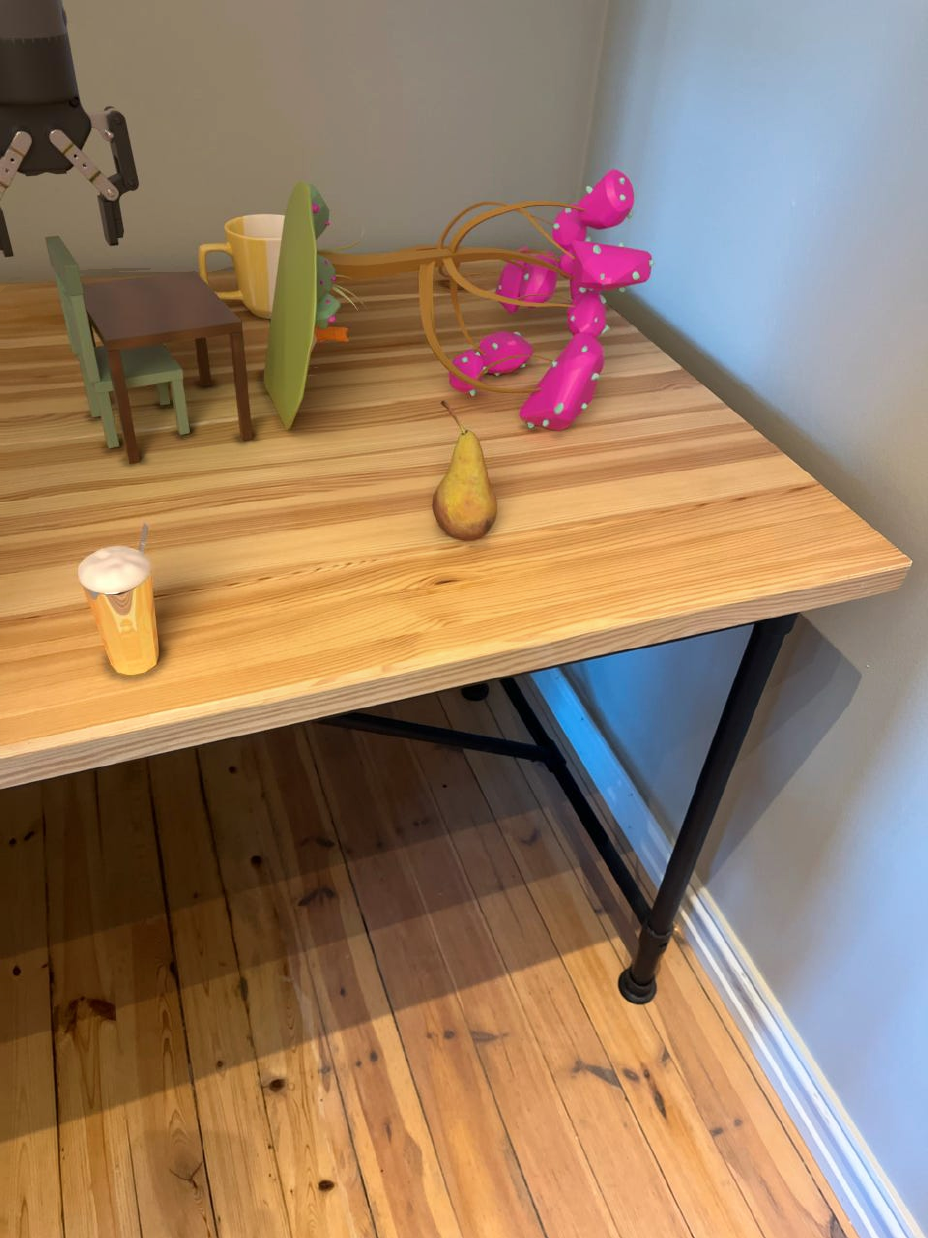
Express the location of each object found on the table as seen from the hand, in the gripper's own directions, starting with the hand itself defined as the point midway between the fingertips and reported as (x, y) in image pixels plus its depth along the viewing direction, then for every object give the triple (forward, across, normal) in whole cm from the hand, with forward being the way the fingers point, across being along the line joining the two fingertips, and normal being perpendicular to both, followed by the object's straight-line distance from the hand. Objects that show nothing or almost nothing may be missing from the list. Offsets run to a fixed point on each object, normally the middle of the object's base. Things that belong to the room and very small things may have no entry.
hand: (60, 248), depth 78 cm
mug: (+18, -25, -24) cm, 39 cm away
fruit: (+18, -24, +30) cm, 42 cm away
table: (+18, -7, 0) cm, 19 cm away
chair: (+18, -4, 0) cm, 18 cm away
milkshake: (+18, +5, +34) cm, 39 cm away
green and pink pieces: (+18, -35, +6) cm, 40 cm away
